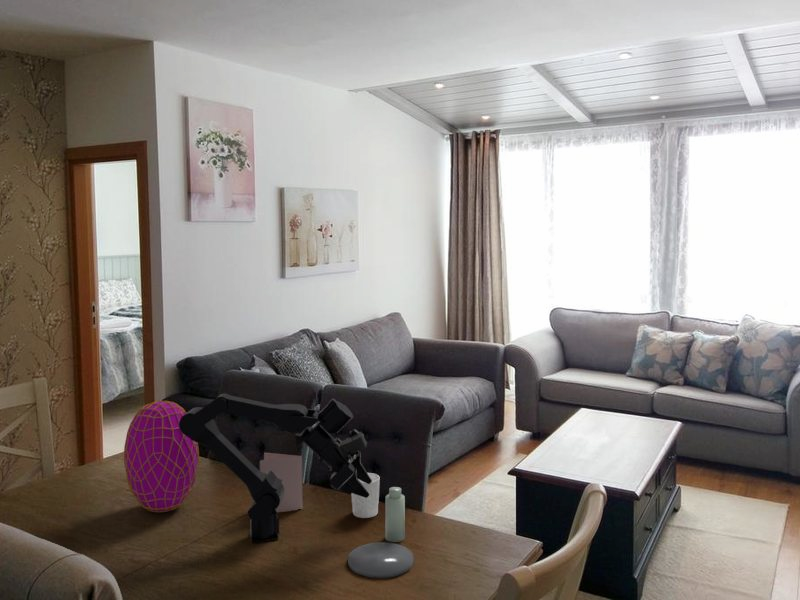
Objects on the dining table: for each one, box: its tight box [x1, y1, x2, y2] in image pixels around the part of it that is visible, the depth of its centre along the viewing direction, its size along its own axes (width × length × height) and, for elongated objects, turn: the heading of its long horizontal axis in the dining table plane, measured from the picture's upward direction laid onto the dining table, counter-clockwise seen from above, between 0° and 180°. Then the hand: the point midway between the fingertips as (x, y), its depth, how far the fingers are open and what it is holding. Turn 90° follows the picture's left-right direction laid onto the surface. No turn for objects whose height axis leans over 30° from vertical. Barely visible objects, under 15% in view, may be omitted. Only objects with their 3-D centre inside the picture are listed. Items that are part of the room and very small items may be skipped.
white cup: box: [350, 472, 381, 519], centre depth 182 cm, size 8×8×10 cm
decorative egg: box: [123, 400, 200, 513], centre depth 184 cm, size 19×19×30 cm
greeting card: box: [259, 452, 303, 513], centre depth 184 cm, size 11×7×15 cm, turn 74°
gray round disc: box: [347, 541, 414, 579], centre depth 155 cm, size 15×15×1 cm
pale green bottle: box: [384, 486, 406, 543], centre depth 167 cm, size 5×5×12 cm
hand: (369, 489), depth 167 cm, fingers open, 9 cm apart
